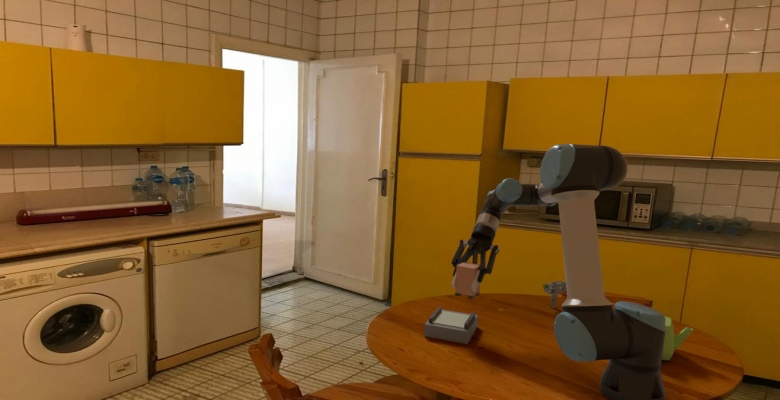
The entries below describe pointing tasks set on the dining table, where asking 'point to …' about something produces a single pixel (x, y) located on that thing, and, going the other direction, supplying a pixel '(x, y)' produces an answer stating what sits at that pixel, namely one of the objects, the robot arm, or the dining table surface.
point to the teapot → (673, 339)
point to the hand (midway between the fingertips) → (463, 287)
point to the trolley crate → (466, 279)
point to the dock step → (451, 326)
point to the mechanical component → (554, 290)
